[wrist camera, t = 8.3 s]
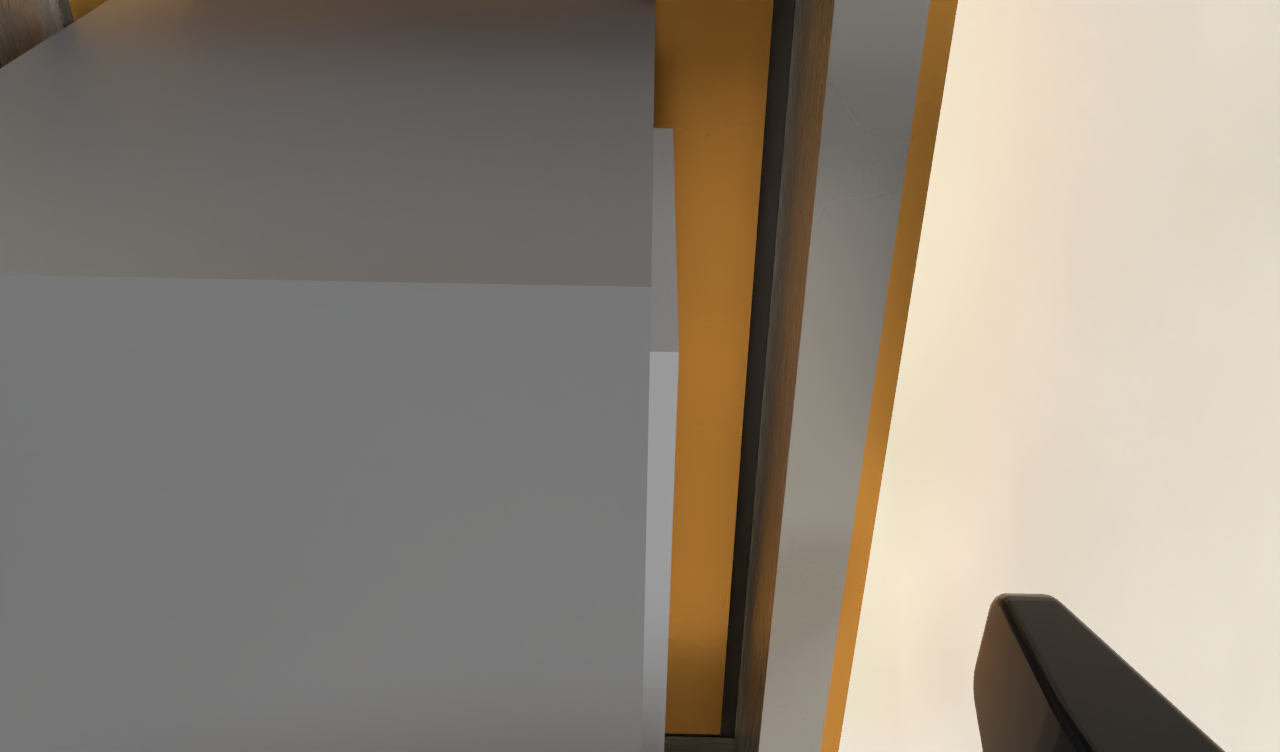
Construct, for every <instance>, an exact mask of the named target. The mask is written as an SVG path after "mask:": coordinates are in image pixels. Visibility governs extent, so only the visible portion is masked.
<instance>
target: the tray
mask: <svg viewBox="0 0 1280 752" xmlns="http://www.w3.org/2000/svg"><path fill="white" fill-rule="evenodd" d="M107 1H108V0H69V4H70V8H71V12H72V16H73V19H74V22H75V21H76V20H78V19H80V18H81V17H83V16H84V15H86V14H88V13H89V12H91V11H92V10H94V9H95V8H97V7H99V6H100V5H102V4H103V3H105V2H107ZM773 3H774V0H655V62H654V128H668V129H673V148H674V185H675V223H676V260H677V298H678V335H679V364H678V391H677V418H676V445H675V472H674V499H673V526H672V553H671V580H670V607H669V634H668V660H667V687H666V714H665V733H678V734H720V729H721V715H722V702H723V688H724V674H725V661H726V647H727V633H728V619H729V606H730V592H731V578H732V565H733V551H734V537H735V524H736V510H737V496H738V482H739V469H740V455H741V441H742V428H743V414H744V400H745V387H746V373H747V359H748V345H749V332H750V318H751V304H752V291H753V277H754V263H755V250H756V236H757V222H758V208H759V195H760V181H761V167H762V154H763V140H764V126H765V112H766V99H767V85H768V71H769V58H770V44H771V30H772V17H773ZM957 3H958V0H796V6H795V18H794V30H793V42H792V54H791V66H790V78H789V90H788V102H787V114H786V126H785V138H784V150H783V162H782V174H781V186H780V198H779V210H778V222H777V234H776V246H775V258H774V270H773V282H772V294H771V306H770V318H769V330H768V342H767V354H766V366H765V378H764V390H763V402H762V414H761V426H760V438H759V450H758V462H757V474H756V486H755V498H754V510H753V522H752V534H751V546H750V558H749V570H748V582H747V594H746V605H745V617H744V629H743V641H742V653H741V665H740V677H739V689H738V701H737V713H736V725H735V737H734V738H717V737H665V741H664V752H838V750H839V743H840V737H841V731H842V725H843V718H844V712H845V706H846V699H847V693H848V687H849V681H850V674H851V668H852V662H853V655H854V649H855V643H856V637H857V630H858V624H859V618H860V612H861V605H862V599H863V593H864V586H865V580H866V574H867V568H868V561H869V555H870V549H871V542H872V536H873V530H874V524H875V517H876V511H877V505H878V499H879V492H880V486H881V480H882V473H883V467H884V461H885V455H886V448H887V442H888V436H889V429H890V423H891V417H892V411H893V404H894V398H895V392H896V386H897V379H898V373H899V367H900V360H901V354H902V348H903V342H904V335H905V329H906V323H907V317H908V310H909V304H910V298H911V291H912V285H913V279H914V273H915V266H916V260H917V254H918V247H919V241H920V235H921V229H922V222H923V216H924V210H925V204H926V197H927V191H928V185H929V178H930V172H931V166H932V160H933V153H934V147H935V141H936V134H937V128H938V122H939V116H940V109H941V103H942V97H943V91H944V84H945V78H946V72H947V65H948V59H949V53H950V47H951V40H952V34H953V28H954V21H955V15H956V9H957ZM62 29H64V26H63V22H62V19H61V15H60V11H59V7H58V3H57V0H0V68H2V67H4V66H5V65H7V64H8V63H10V62H11V61H13V60H15V59H16V58H18V57H19V56H21V55H23V54H24V53H26V52H27V51H29V50H30V49H32V48H34V47H35V46H37V45H38V44H40V43H42V42H43V41H45V40H46V39H48V38H49V37H51V36H53V35H54V34H56V33H57V32H59V31H61V30H62Z"/></svg>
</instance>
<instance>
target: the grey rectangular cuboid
mask: <svg viewBox="0 0 1280 752" xmlns="http://www.w3.org/2000/svg"><path fill="white" fill-rule="evenodd" d="M654 62H655V0H108V1H107V2H105V3H103V4H102V5H100V6H99V7H97V8H95V9H94V10H92V11H91V12H89V13H88V14H86V15H84V16H83V17H81V18H80V19H78V20H76V21H75V22H73V23H72V24H70V25H69V26H67V27H65V28H64V29H62V30H61V31H59V32H57V33H56V34H54V35H53V36H51V37H49V38H48V39H46V40H45V41H43V42H42V43H40V44H38V45H37V46H35V47H34V48H32V49H30V50H29V51H27V52H26V53H24V54H23V55H21V56H19V57H18V58H16V59H15V60H13V61H11V62H10V63H8V64H7V65H5V66H4V67H2V68H0V752H664V741H665V714H666V687H667V660H668V634H669V607H670V580H671V553H672V526H673V499H674V472H675V445H676V418H677V391H678V364H679V335H678V298H677V260H676V223H675V185H674V148H673V129H668V128H654Z"/></svg>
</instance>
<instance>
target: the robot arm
mask: <svg viewBox="0 0 1280 752" xmlns="http://www.w3.org/2000/svg"><path fill="white" fill-rule="evenodd" d="M973 689H974V701H975V707H976V713H977V719H978V725H979V731H980V737H981V743H982V749H983V752H1225V751H1224V750H1223V749H1222V748H1220V747H1219V746H1218V745H1217V744H1216V743H1215V742H1214V741H1213V740H1212V739H1211V738H1209V737H1208V736H1207V735H1206V734H1205V733H1204V732H1203V731H1202V730H1201V729H1200V728H1198V727H1197V726H1196V725H1195V724H1194V723H1193V722H1192V721H1191V720H1190V719H1189V718H1187V717H1186V716H1185V715H1184V714H1183V713H1182V712H1181V711H1180V710H1179V709H1178V708H1176V707H1175V706H1174V705H1173V704H1172V703H1171V702H1170V701H1169V700H1168V699H1167V698H1165V697H1164V696H1163V695H1162V694H1161V693H1160V692H1159V691H1158V690H1157V689H1156V688H1154V687H1153V686H1152V685H1151V684H1150V683H1149V682H1148V681H1147V680H1146V679H1145V678H1143V677H1142V676H1141V675H1140V674H1139V673H1138V672H1137V671H1136V670H1135V669H1134V668H1132V667H1131V666H1130V665H1129V664H1128V663H1127V662H1126V661H1125V660H1124V659H1123V658H1121V657H1120V656H1119V655H1118V654H1117V653H1116V652H1115V651H1114V650H1113V649H1112V648H1110V647H1109V646H1108V645H1107V644H1106V643H1105V642H1104V641H1103V640H1102V639H1101V638H1100V637H1098V636H1097V635H1096V634H1095V633H1094V632H1093V631H1092V630H1091V629H1090V628H1089V627H1087V626H1086V625H1085V624H1084V623H1083V622H1082V621H1081V620H1080V619H1079V618H1078V617H1076V616H1075V615H1074V614H1073V613H1072V612H1071V611H1070V610H1069V609H1068V608H1067V607H1065V606H1064V605H1063V604H1062V603H1061V602H1060V601H1058V600H1057V599H1055V598H1054V597H1052V596H1050V595H1045V594H1011V593H1005V594H1001V595H999V596H997V597H996V598H995V599H994V600H993V602H992V604H991V606H990V609H989V613H988V617H987V621H986V625H985V629H984V633H983V637H982V641H981V645H980V649H979V654H978V658H977V662H976V666H975V671H974V688H973Z"/></svg>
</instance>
